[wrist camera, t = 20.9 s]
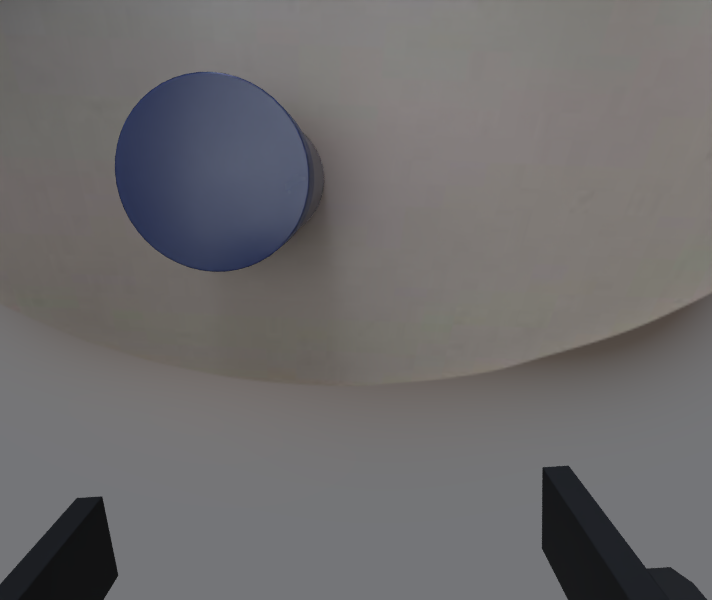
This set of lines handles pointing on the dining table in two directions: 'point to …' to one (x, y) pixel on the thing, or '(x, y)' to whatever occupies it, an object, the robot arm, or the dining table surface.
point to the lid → (213, 171)
